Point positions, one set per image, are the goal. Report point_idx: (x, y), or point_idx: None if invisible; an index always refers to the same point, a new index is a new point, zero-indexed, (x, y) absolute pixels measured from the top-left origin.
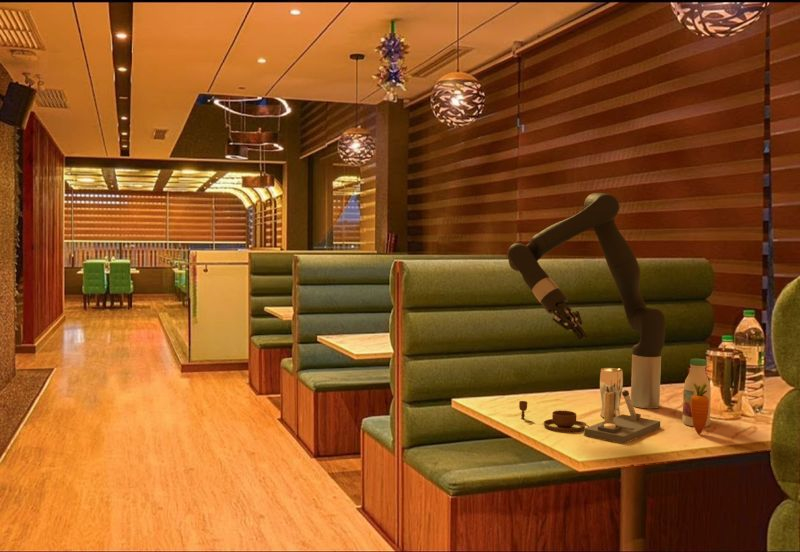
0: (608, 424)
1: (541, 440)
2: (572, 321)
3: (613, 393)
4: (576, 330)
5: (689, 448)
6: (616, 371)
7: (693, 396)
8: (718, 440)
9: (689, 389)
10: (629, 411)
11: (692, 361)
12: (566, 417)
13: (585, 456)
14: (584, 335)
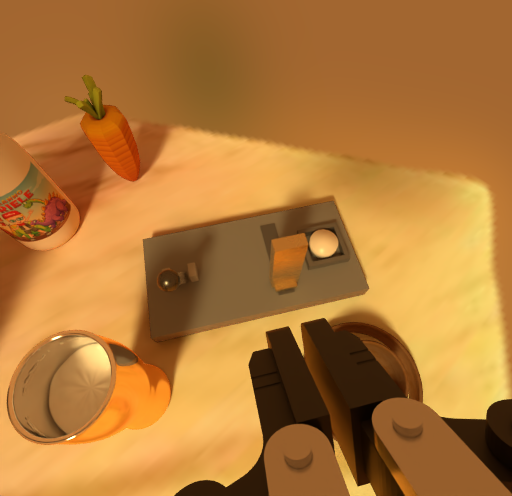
0: (324, 245)
1: (495, 317)
2: (492, 491)
3: (275, 239)
4: (393, 388)
5: (244, 140)
6: (91, 336)
7: (113, 122)
8: (149, 143)
9: (26, 169)
10: (184, 282)
11: None
12: (386, 347)
13: (463, 193)
14: (318, 319)
